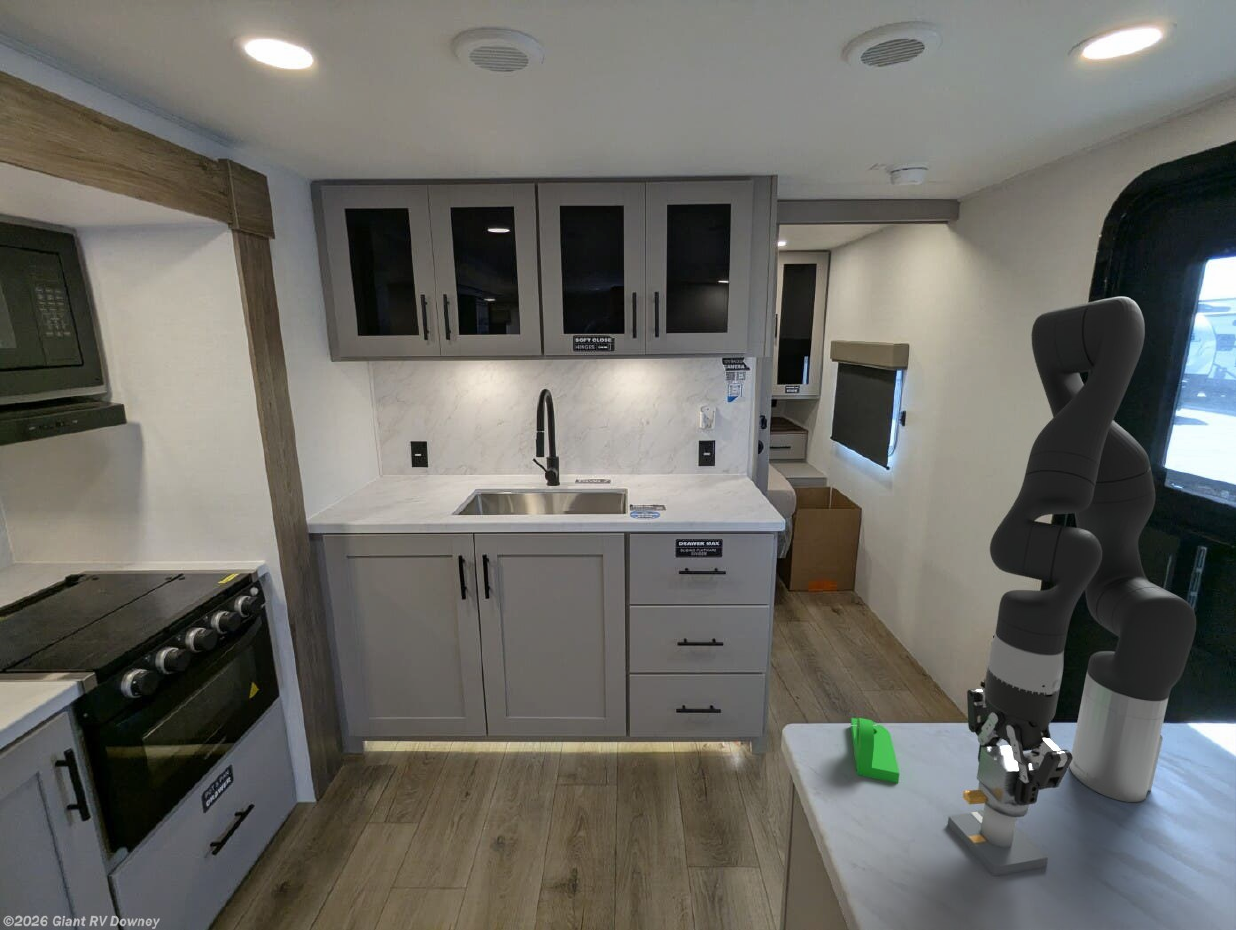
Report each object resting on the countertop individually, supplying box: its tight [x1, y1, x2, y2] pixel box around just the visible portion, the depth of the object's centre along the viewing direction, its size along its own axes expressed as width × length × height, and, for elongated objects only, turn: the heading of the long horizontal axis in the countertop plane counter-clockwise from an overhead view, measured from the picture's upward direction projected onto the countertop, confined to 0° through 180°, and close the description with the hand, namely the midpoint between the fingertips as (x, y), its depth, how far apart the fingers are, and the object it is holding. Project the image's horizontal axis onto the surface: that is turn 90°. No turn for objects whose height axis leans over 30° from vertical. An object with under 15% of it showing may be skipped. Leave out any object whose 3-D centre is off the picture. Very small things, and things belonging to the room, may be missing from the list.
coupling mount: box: [947, 803, 1049, 877], centre depth 75 cm, size 8×8×7 cm
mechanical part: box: [850, 717, 900, 784], centre depth 92 cm, size 12×6×8 cm, turn 162°
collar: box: [962, 744, 1032, 818], centre depth 73 cm, size 6×8×7 cm
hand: (1004, 784), depth 73 cm, fingers open, 5 cm apart
